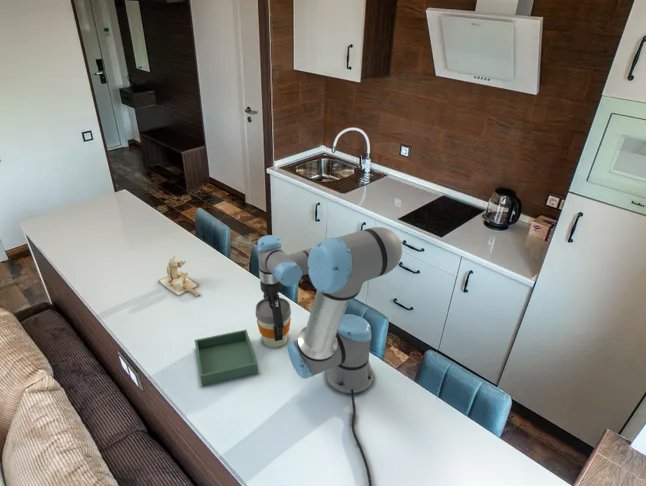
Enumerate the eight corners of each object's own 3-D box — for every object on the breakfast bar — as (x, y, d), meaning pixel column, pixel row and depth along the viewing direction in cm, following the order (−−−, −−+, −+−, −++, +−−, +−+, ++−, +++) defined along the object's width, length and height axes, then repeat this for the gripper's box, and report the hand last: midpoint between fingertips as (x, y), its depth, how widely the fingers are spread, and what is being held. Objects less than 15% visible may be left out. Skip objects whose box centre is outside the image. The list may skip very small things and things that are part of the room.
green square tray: (258, 373, 152) (257, 363, 149) (202, 386, 147) (200, 376, 145) (247, 339, 167) (246, 329, 164) (196, 349, 162) (194, 339, 160)
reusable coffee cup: (276, 324, 174) (274, 292, 166) (299, 339, 166) (298, 306, 158) (250, 339, 167) (247, 306, 158) (273, 355, 159) (271, 322, 151)
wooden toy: (158, 281, 200) (152, 254, 192) (179, 272, 206) (174, 246, 198) (185, 302, 187) (179, 274, 179) (206, 292, 192) (202, 265, 185)
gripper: (291, 297, 143) (293, 348, 155) (273, 259, 163) (275, 307, 174) (268, 301, 141) (272, 352, 153) (252, 262, 161) (256, 310, 173)
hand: (274, 328), depth 164 cm, fingers closed on reusable coffee cup, 12 cm apart
